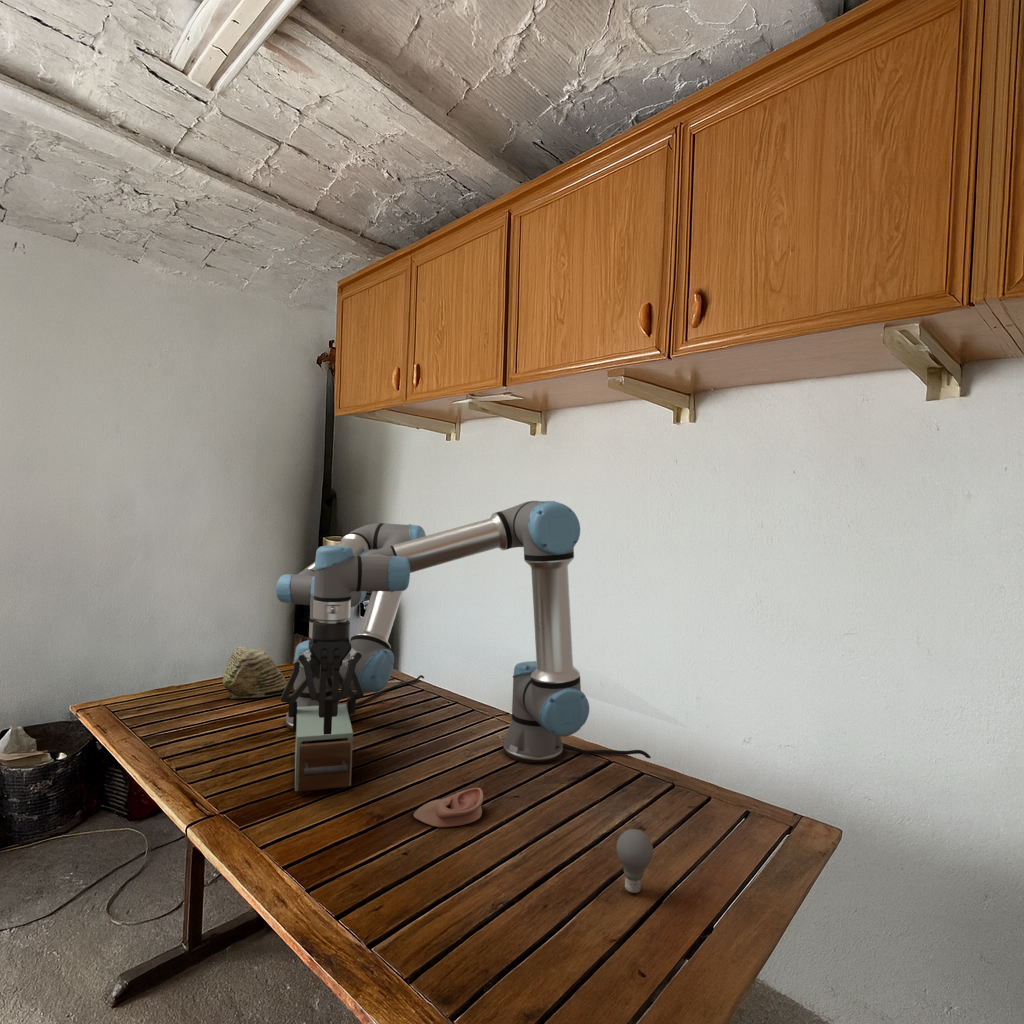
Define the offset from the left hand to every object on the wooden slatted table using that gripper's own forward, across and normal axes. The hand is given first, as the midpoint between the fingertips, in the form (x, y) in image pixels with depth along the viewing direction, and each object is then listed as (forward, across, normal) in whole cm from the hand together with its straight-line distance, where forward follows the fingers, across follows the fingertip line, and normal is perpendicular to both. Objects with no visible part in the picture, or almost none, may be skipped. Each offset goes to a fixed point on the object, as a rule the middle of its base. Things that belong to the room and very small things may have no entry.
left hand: (321, 728), depth 153 cm
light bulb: (+7, +48, -67) cm, 82 cm away
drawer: (+6, 0, -12) cm, 14 cm away
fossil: (+7, -18, +54) cm, 57 cm away
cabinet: (+7, 0, -7) cm, 10 cm away
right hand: (-7, 0, -22) cm, 23 cm away
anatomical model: (+7, +24, -34) cm, 42 cm away
